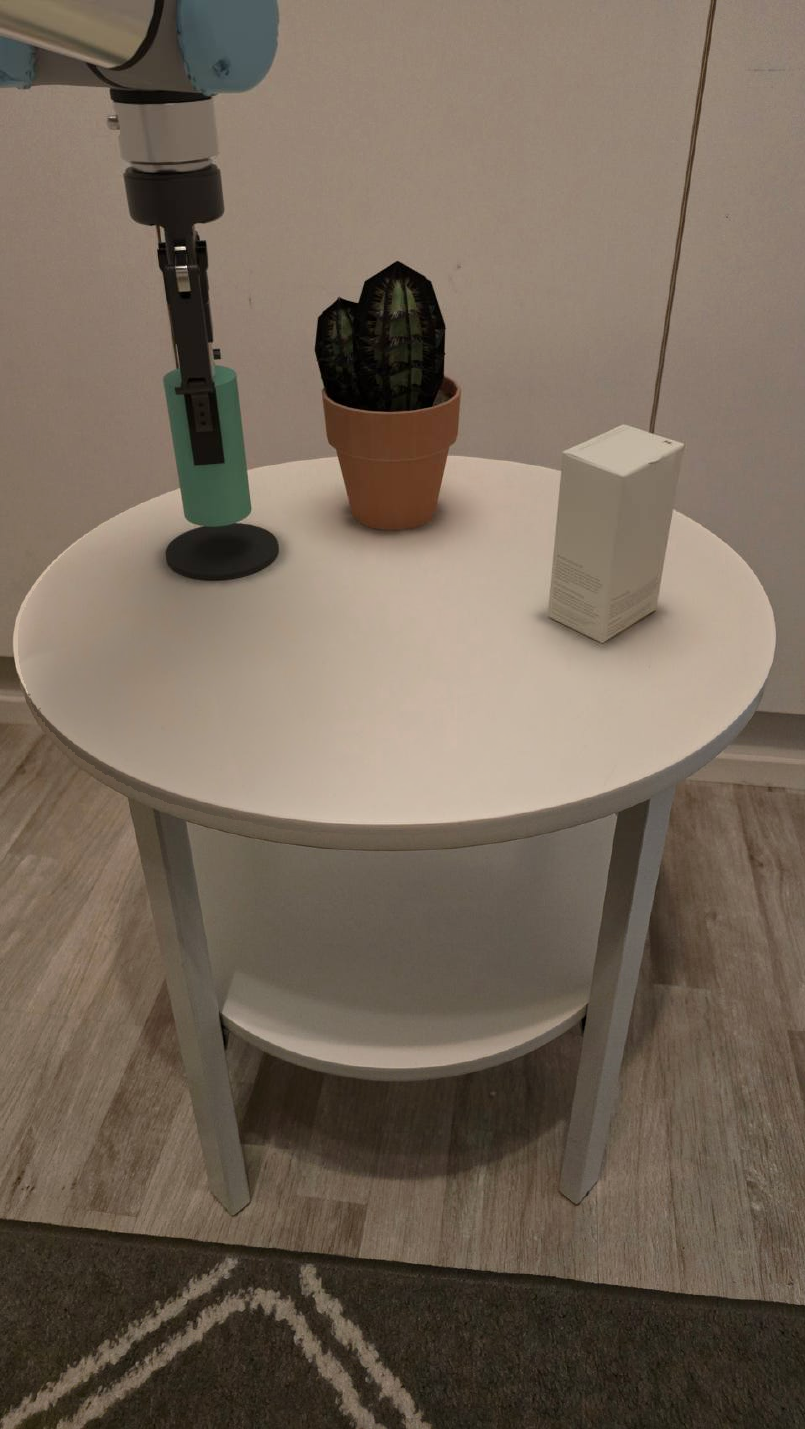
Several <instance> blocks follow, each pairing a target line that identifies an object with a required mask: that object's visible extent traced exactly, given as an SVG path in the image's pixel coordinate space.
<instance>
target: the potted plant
mask: <svg viewBox="0 0 805 1429" xmlns="http://www.w3.org/2000/svg"><path fill="white" fill-rule="evenodd" d="M446 329H447V328H446V323H445V320H444V316H443V313H442V311H441V308H440V304H439V302H438V298H437V295H436V292H435V288H434V285H433V282H432V281H431V280H429V279H428V278H427V277H426V276H425V275H424V274H422V273H421V272H418V271H416V270H415V269H413V268H411V267H410V266H408V265H406V264H405V263H403V262H401V261H399V260H395V261H394V262H392V263H391V264H390V265H387V266H386V267H385V268H383V269H381V270H380V271H379V272H377V273H375V274H374V275H372V276H370V277H369V278H367V279H365V280H364V282H363V285H362V289H361V292H360V295H359V298H358V301H357V302H356V301H352V300H348V299H346V298H342V297H341V296H338V297H337V298H336V300H335V301H333V303H331V304H330V305H328V307H327V308H326V309H324V310H323V311H322V312H321V314H320V315H319V316H318V317H317V322H316V332H315V342H314V354H315V358H316V359H315V360H316V362H317V366H318V369H319V373H320V379H321V382H322V384H323V388H322V389H321V397H322V405H323V415H324V424H325V433H326V438H327V443H328V445H329V446H331V447H332V448H334V450H335V452H336V456H337V460H338V463H339V468H340V471H341V476H342V479H343V483H344V487H345V490H346V494H347V495H346V496H347V498H348V502H349V507H350V511H351V514H352V518H353V519H355V520H356V521H357V523H359V524H360V525H361V524H362V525H364V526H366V527H368V528H371V529H377V530H381V531H404V530H410V529H413V528H418V527H420V526H422V525H424V524H427V523H428V522H429V521H431V519H433V518H434V517H435V514H436V511H437V506H438V501H439V496H440V494H441V493H440V492H441V487H442V482H443V478H444V474H445V469H446V465H447V459H448V456H449V450H450V447H451V446H453V445H455V443H457V437H458V435H459V423H460V411H461V410H460V409H461V397H462V388H461V386H460V385H459V383H458V381H457V380H456V379H454V378H452V377H451V376H449V375H447V374H445V357H446V353H447V352H446Z"/></svg>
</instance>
